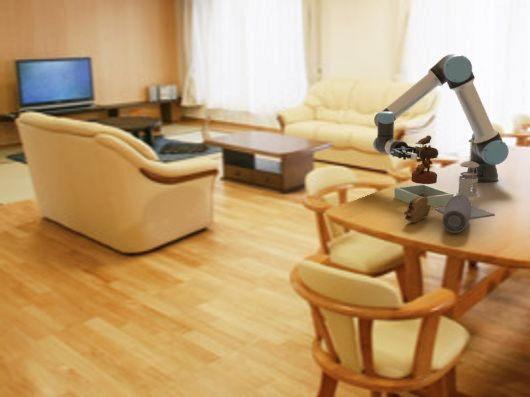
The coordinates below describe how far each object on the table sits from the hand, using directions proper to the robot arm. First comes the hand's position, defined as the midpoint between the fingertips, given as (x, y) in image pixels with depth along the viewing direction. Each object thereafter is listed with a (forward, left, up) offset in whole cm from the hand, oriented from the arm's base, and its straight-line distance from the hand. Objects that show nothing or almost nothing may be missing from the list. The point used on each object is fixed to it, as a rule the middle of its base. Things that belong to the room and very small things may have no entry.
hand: (426, 156), depth 244 cm
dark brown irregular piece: (0, -1, -11) cm, 11 cm away
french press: (-24, -1, -20) cm, 31 cm away
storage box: (0, -1, -20) cm, 20 cm away
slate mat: (-4, +21, -20) cm, 29 cm away
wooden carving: (+20, +23, -20) cm, 36 cm away
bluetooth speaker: (+11, +35, -20) cm, 41 cm away
